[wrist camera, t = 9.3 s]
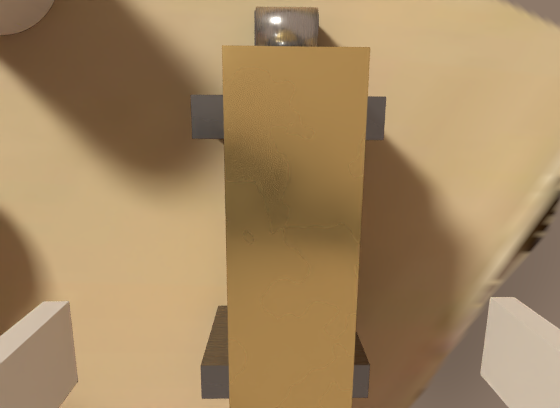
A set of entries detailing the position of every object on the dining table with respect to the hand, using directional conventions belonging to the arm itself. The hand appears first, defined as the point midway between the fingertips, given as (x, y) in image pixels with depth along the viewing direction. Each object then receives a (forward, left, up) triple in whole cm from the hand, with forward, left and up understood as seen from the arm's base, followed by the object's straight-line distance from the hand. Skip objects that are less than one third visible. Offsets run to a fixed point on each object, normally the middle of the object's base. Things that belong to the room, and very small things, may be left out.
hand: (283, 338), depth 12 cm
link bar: (0, 0, -11) cm, 11 cm away
